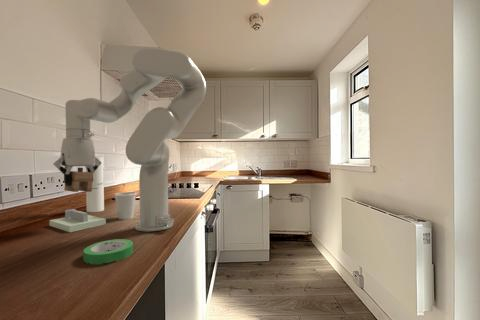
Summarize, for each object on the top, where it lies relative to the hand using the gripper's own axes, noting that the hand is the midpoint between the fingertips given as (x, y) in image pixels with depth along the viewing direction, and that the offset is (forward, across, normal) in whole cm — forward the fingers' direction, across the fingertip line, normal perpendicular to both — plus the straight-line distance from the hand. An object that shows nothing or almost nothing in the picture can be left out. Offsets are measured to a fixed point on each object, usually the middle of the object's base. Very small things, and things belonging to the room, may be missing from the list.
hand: (79, 184), depth 93 cm
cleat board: (+15, 0, -2) cm, 15 cm away
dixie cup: (+15, -16, +3) cm, 23 cm away
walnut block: (+2, 0, 0) cm, 2 cm away
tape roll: (+16, +10, +37) cm, 41 cm away
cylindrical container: (+15, -17, -23) cm, 33 cm away
